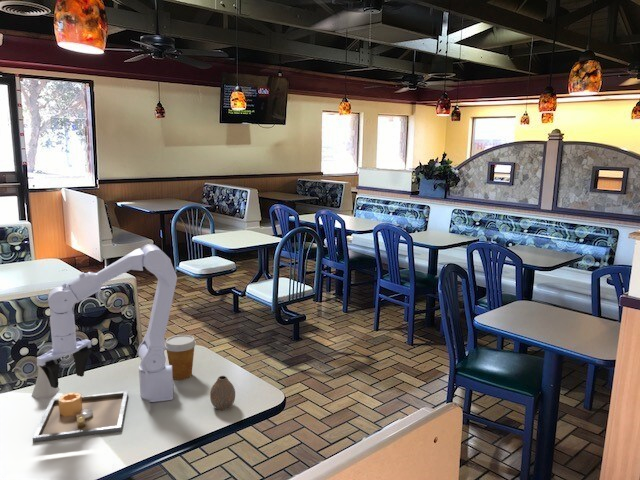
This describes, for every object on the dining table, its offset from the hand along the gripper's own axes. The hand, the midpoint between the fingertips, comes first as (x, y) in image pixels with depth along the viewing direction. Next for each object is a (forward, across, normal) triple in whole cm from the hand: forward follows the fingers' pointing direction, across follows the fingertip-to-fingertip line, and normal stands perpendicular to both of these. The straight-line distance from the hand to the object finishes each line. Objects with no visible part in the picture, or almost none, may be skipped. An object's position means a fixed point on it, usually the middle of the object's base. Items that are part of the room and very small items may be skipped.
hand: (67, 381), depth 138 cm
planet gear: (+8, 0, 0) cm, 9 cm away
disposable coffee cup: (+10, -32, +10) cm, 35 cm away
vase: (+10, -23, +33) cm, 42 cm away
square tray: (+9, 0, +6) cm, 11 cm away
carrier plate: (+9, 0, +6) cm, 11 cm away
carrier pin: (+9, +4, +10) cm, 14 cm away
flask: (+10, -3, -15) cm, 18 cm away
